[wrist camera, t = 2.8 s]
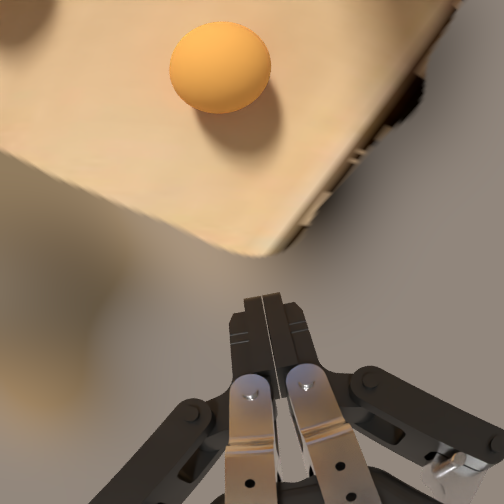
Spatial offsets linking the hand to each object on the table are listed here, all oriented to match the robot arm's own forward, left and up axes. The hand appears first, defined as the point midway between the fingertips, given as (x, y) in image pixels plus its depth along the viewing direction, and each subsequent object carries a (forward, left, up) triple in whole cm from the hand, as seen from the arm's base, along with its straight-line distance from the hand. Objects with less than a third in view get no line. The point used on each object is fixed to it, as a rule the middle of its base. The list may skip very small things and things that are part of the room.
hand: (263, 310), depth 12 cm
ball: (-10, 0, -9) cm, 13 cm away
